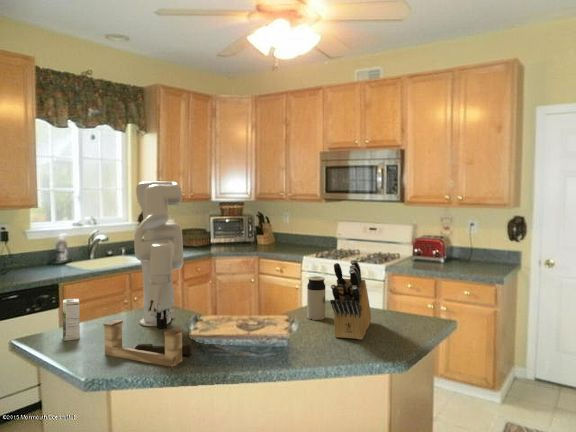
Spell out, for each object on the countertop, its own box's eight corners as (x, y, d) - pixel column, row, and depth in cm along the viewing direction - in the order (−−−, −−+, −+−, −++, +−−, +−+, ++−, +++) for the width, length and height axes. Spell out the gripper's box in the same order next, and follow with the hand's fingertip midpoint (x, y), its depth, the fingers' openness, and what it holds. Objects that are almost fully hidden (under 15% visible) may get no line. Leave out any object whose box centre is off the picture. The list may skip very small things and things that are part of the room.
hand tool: (191, 353, 156) (191, 340, 156) (190, 357, 152) (190, 344, 152) (135, 355, 154) (135, 342, 154) (132, 359, 150) (132, 346, 150)
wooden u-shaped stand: (115, 349, 159) (115, 319, 158) (183, 361, 148) (182, 328, 148) (104, 354, 154) (103, 323, 153) (173, 367, 143) (172, 333, 143)
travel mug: (303, 318, 199) (303, 278, 198) (313, 314, 205) (313, 275, 204) (318, 321, 194) (319, 280, 193) (328, 317, 201) (328, 277, 200)
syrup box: (62, 337, 173) (61, 299, 172) (79, 334, 176) (78, 297, 175) (63, 341, 168) (62, 302, 167) (80, 339, 171) (79, 301, 170)
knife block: (327, 345, 164) (328, 261, 162) (345, 319, 197) (346, 249, 195) (358, 349, 160) (359, 262, 159) (371, 322, 194) (372, 250, 192)
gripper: (165, 273, 168) (166, 321, 170) (138, 281, 154) (139, 333, 156) (182, 275, 165) (183, 323, 167) (156, 284, 151) (156, 337, 153)
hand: (161, 328), depth 161 cm, fingers closed
